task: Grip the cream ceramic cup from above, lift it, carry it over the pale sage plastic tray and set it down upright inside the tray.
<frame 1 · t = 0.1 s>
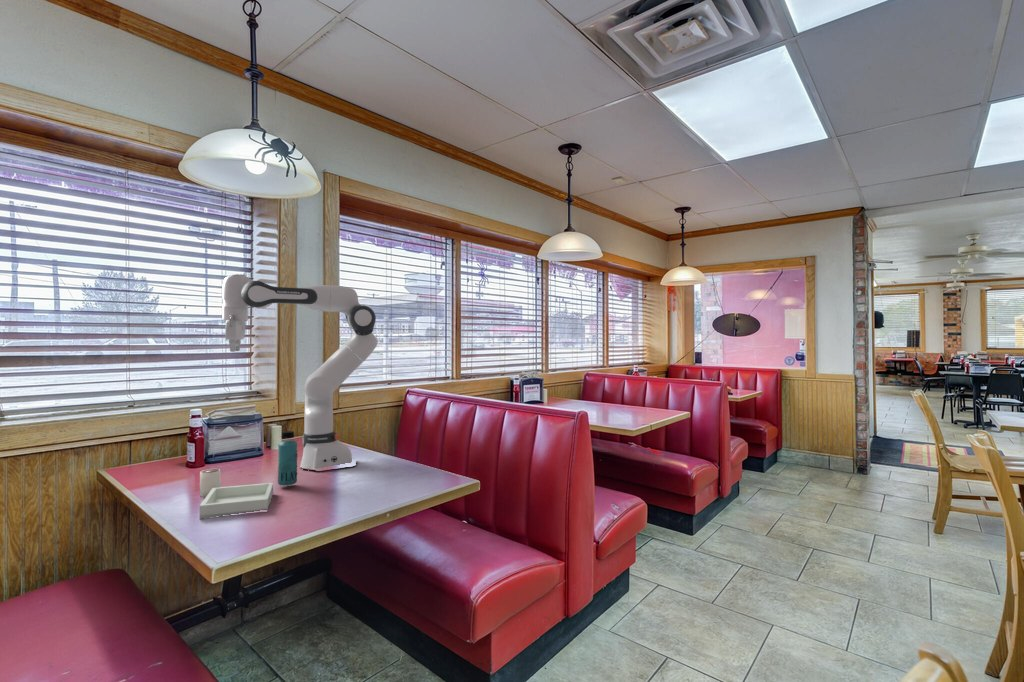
hand: (235, 351, 192), 48 cm above the table, tool pointing down, fingers open, 8 cm apart
tray: (239, 505, 156), on the table
beverage bottle: (287, 487, 175), on the table
cup: (210, 494, 167), on the table
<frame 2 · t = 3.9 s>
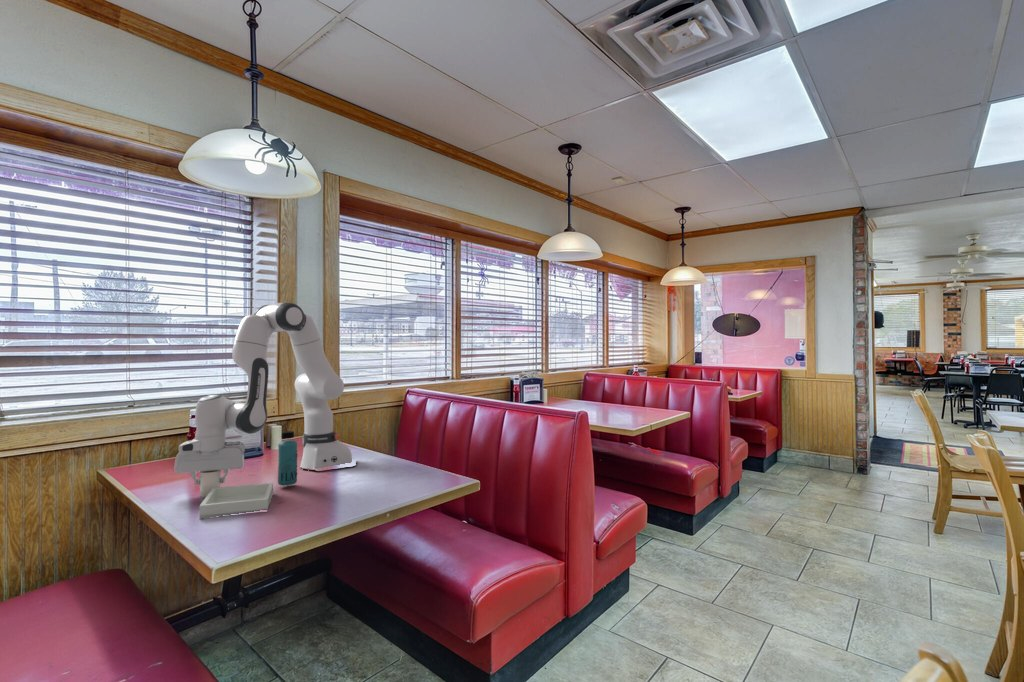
hand: (210, 483, 167), 4 cm above the table, tool pointing down, fingers closed on cup, 6 cm apart
cup: (210, 494, 167), on the table, touching gripper
everything else where it was.
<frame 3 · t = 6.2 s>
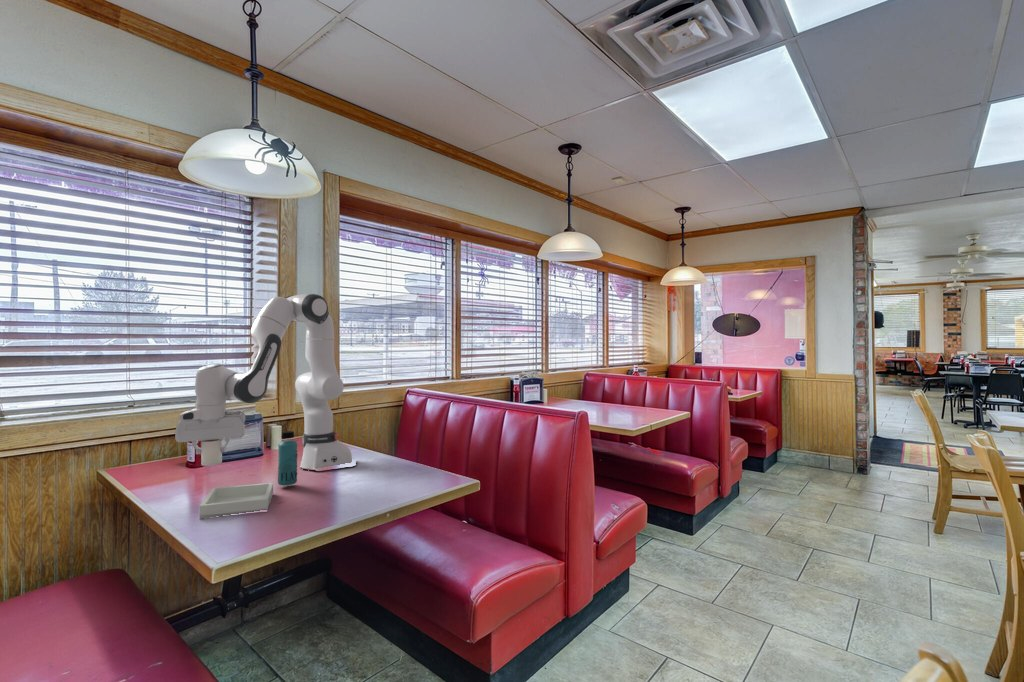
hand: (211, 452, 167), 14 cm above the table, tool pointing down, fingers closed on cup, 6 cm apart
cup: (211, 463, 167), point 10 cm above the table, touching gripper
everything else where it was.
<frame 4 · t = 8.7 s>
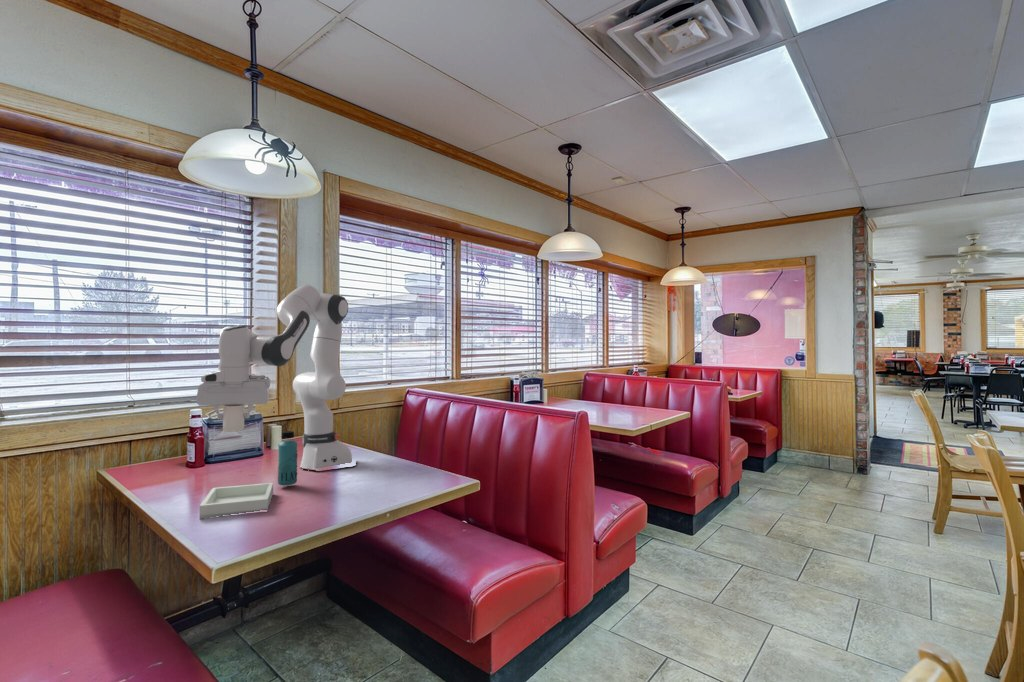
hand: (233, 418, 157), 27 cm above the table, tool pointing down, fingers closed on cup, 6 cm apart
cup: (233, 430, 157), point 24 cm above the table, touching gripper
everything else where it was.
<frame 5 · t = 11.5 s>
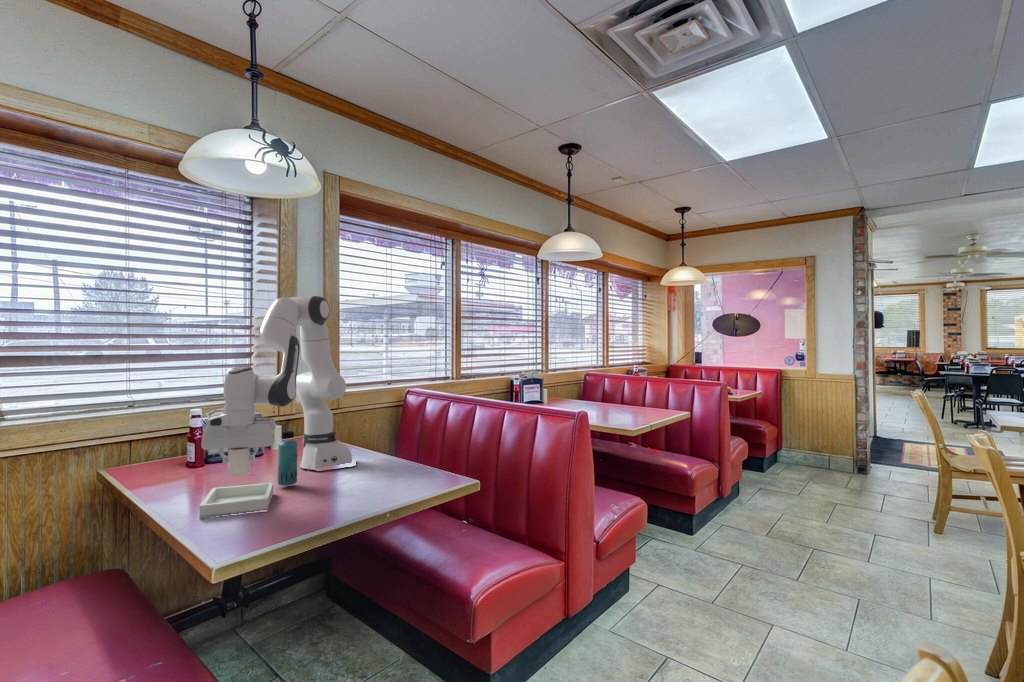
hand: (238, 461, 155), 14 cm above the table, tool pointing down, fingers closed on cup, 6 cm apart
cup: (238, 473, 155), point 10 cm above the table, touching gripper
everything else where it was.
when the fingers open (6 cm above the table, at t = 13.6 s): cup drops 1 cm, resting on tray.
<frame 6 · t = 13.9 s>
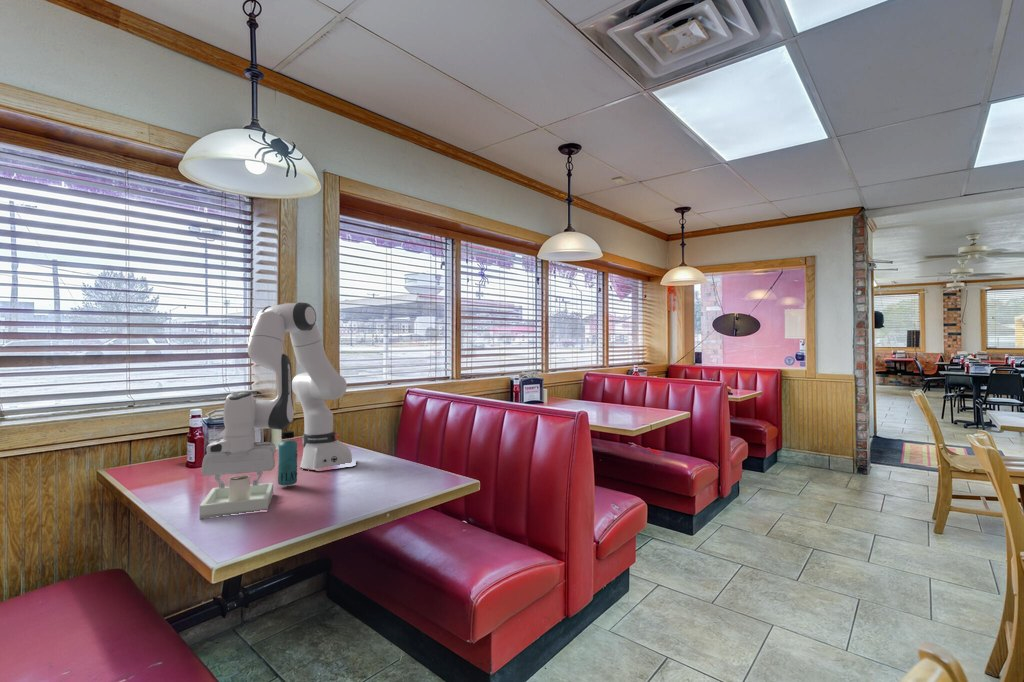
hand: (239, 486, 156), 6 cm above the table, tool pointing down, fingers open, 8 cm apart
cup: (239, 502, 156), point 1 cm above the table, touching tray
everything else where it was.
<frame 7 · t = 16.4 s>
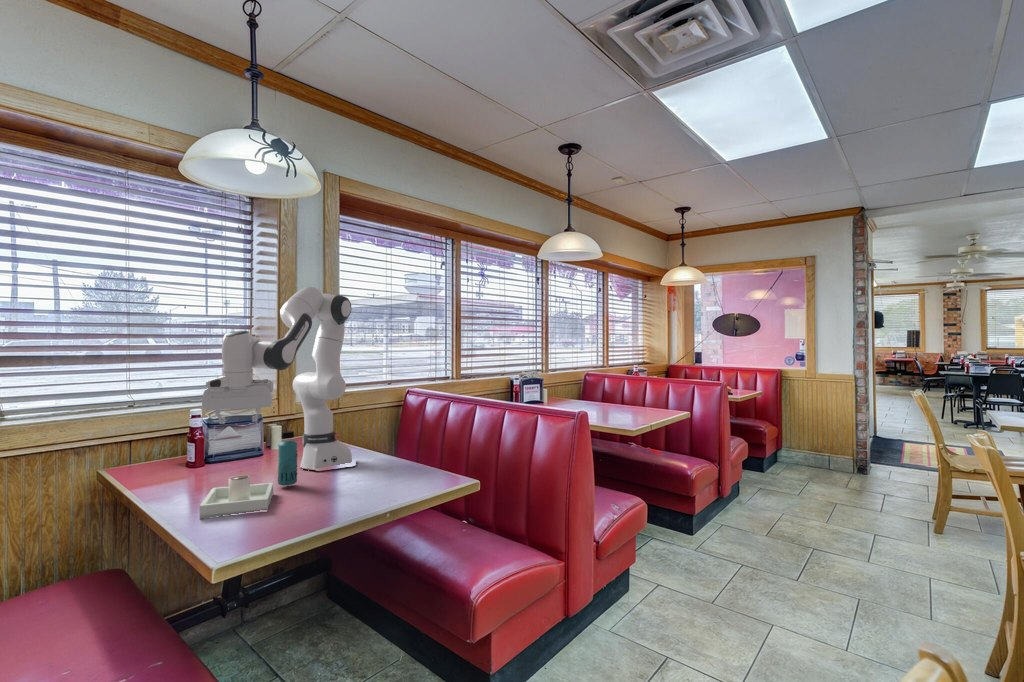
hand: (238, 422, 161), 26 cm above the table, tool pointing down, fingers open, 8 cm apart
nothing on the table moved.
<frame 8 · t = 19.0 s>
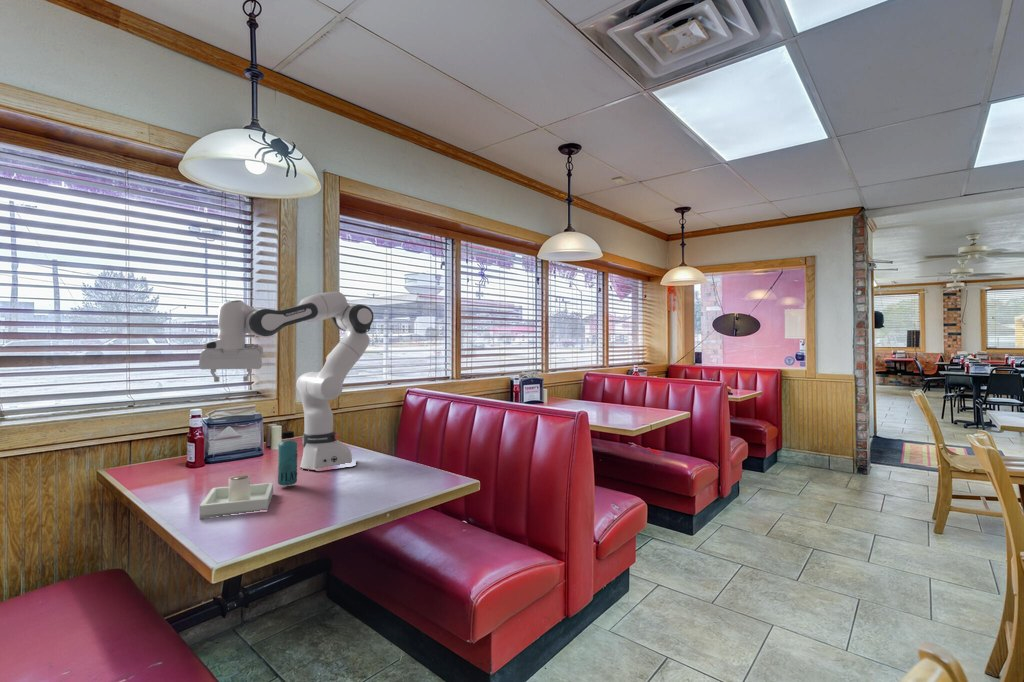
hand: (231, 381, 181), 37 cm above the table, tool pointing down, fingers open, 8 cm apart
nothing on the table moved.
at the end: cup inside the target area on the tray (0.0 cm from its centre), point 1.0 cm above the tray's base; cup tilted 0°; the gripper is holding nothing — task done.
